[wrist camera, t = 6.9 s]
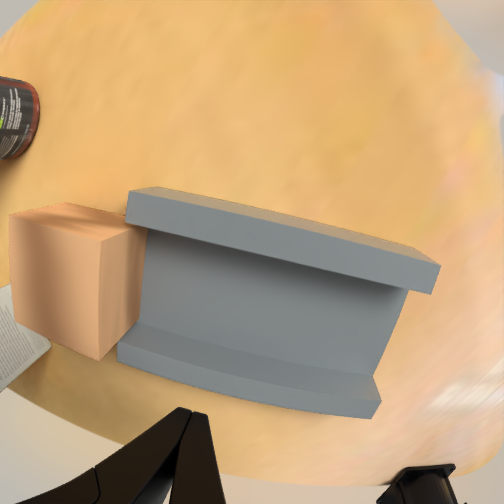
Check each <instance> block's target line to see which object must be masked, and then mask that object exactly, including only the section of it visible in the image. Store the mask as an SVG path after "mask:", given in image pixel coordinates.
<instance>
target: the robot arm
mask: <svg viewBox="0 0 504 504" xmlns="http://www.w3.org/2000/svg"><path fill="white" fill-rule="evenodd" d="M455 469H456V466H455V464H448V465H437V466H425V467H409V468H406V469H405V470H404V471H403V472H402V473H401V474H400V475H399V476H398V478H397V479H396V480H395V481H394V482H393V483H392V484H391V485H390V486H389V488H388V489H387V490H386V491H385V492H384V493H383V494H382V495H381V496H380V497H379V498H378V500H377V501H376V503H377V504H458V503H457V500H456V497H455V494H454V492H453V489H452V487H451V484H450V481H449V479H448V476H449V475H450V474H451V473H452V472H453V471H454V470H455ZM171 486H172V488H171V494H170V500H169V504H226V501H225V497H224V492H223V488H222V484H221V479H220V475H219V470H218V465H217V461H216V456H215V451H214V446H213V441H212V436H211V430H210V425H209V420H208V416H207V415H206V414H203V413H199V412H196V411H194V412H193V413H192V411H191V410H189V409H185V408H182V407H178V408H176V409H175V410H173V411H172V412H171V413H169V414H168V415H167V416H165V417H164V418H163V419H161V420H160V421H159V422H157V423H156V424H154V425H153V426H152V427H150V428H149V429H148V430H146V431H145V432H143V433H142V434H141V435H139V436H138V437H136V438H135V439H134V440H132V441H131V442H129V443H128V444H127V445H125V446H124V447H122V448H121V449H119V450H118V451H116V452H115V453H114V454H112V455H111V456H109V457H108V458H106V459H105V460H103V461H102V462H100V463H99V464H97V465H96V466H95V468H91V469H89V470H88V471H86V472H85V473H83V474H81V475H80V476H78V477H76V478H75V479H73V480H71V481H69V482H67V483H65V484H63V485H61V486H59V487H57V488H54V489H52V490H50V491H48V492H45V493H43V494H40V495H37V496H35V497H32V498H30V499H27V500H24V501H22V502H19V503H16V504H163V502H164V500H165V498H166V496H167V493H168V492H169V490H170V487H171ZM464 504H467V503H464Z"/></svg>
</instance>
